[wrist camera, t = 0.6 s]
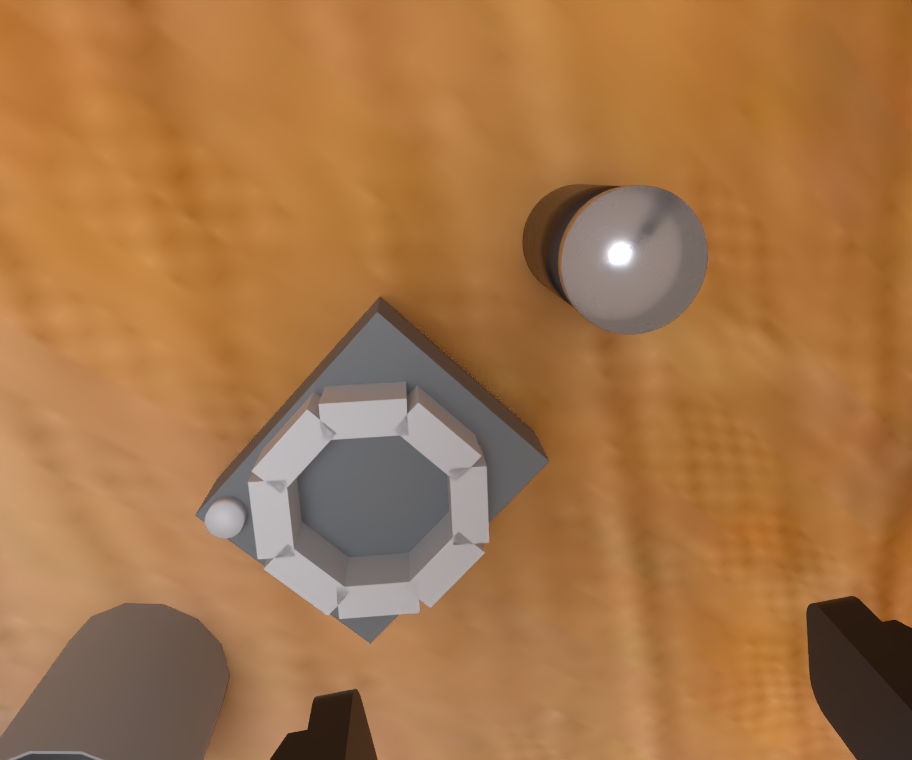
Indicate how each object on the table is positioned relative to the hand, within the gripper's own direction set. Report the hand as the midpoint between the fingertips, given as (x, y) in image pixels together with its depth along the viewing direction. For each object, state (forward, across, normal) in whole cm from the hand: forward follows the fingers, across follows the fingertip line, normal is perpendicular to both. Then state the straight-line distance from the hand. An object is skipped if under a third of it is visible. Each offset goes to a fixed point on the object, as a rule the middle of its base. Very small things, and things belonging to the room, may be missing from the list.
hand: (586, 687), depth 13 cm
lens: (+24, -5, -4) cm, 24 cm away
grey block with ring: (+23, +6, +4) cm, 24 cm away
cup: (+23, +20, +13) cm, 33 cm away
